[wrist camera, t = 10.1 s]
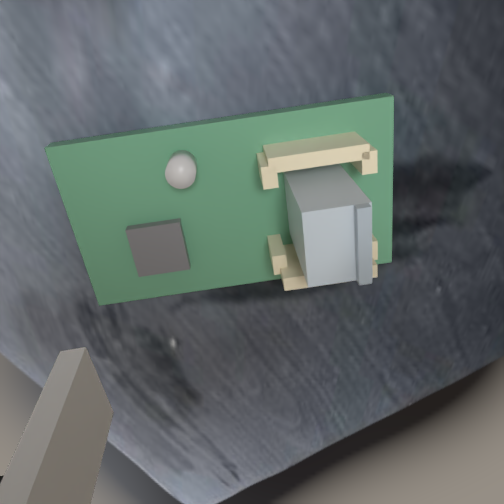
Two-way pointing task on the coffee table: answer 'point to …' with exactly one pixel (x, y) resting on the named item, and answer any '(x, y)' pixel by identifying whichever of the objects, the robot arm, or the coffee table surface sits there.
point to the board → (215, 195)
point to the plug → (329, 225)
